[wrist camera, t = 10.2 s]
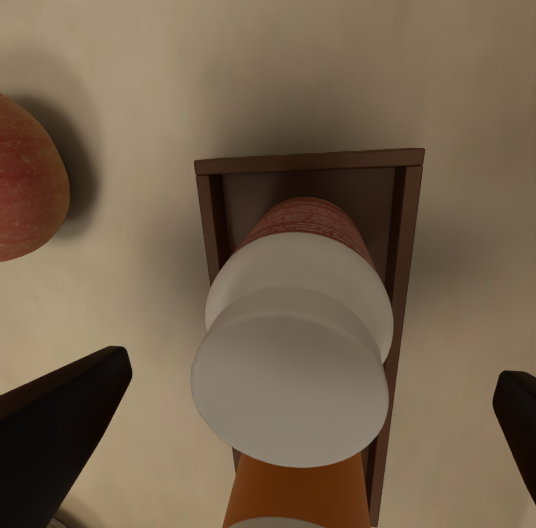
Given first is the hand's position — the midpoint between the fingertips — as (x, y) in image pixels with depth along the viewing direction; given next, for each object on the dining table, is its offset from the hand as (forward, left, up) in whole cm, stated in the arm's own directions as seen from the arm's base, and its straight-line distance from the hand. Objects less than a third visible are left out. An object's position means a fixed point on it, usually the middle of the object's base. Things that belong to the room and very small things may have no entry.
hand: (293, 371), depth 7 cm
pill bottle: (0, 0, -11) cm, 11 cm away
